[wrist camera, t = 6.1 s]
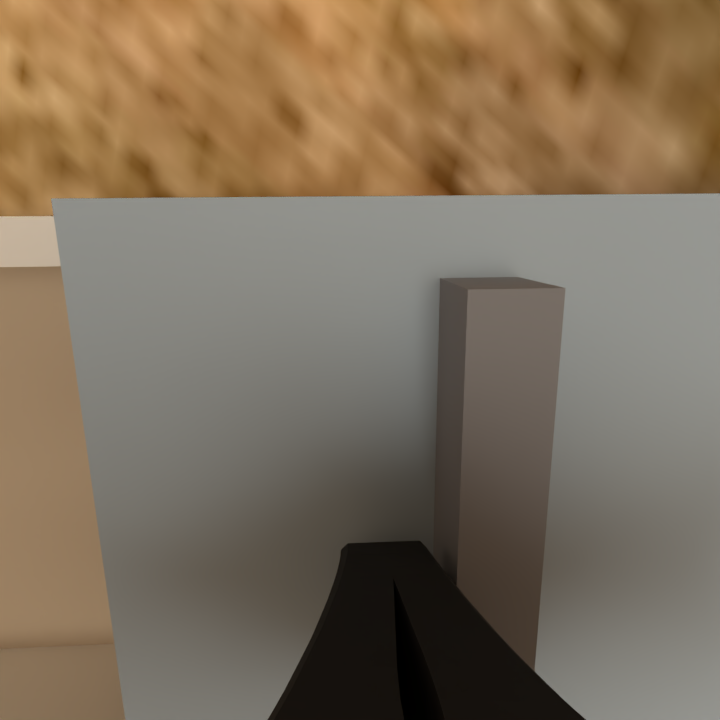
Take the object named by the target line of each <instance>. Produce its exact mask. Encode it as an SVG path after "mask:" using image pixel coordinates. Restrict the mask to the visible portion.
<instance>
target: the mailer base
mask: <svg viewBox="0 0 720 720" xmlns="http://www.w3.org/2000/svg"><path fill="white" fill-rule="evenodd" d="M0 720H125V714H124V707H123V700H122V693H121V686H120V679H119V672H118V665H117V658H116V651H115V644H114V637H113V630H112V623H111V616H110V609H109V602H108V594H107V587H106V580H105V573H104V566H103V559H102V552H101V545H100V538H99V531H98V524H97V517H96V510H95V503H94V496H93V489H92V482H91V475H90V468H89V461H88V454H87V447H86V440H85V433H84V426H83V419H82V412H81V405H80V398H79V391H78V384H77V376H76V369H75V362H74V355H73V348H72V341H71V334H70V327H69V320H68V313H67V306H66V299H65V292H64V285H63V278H62V271H61V264H60V257H59V250H58V243H57V236H56V229H55V222H54V216H0Z"/></svg>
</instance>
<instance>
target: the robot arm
mask: <svg viewBox="0 0 720 720" xmlns="http://www.w3.org/2000/svg"><path fill="white" fill-rule="evenodd" d="M268 720H586V719H585V718H584V717H582V716H581V715H580V714H579V713H578V712H577V711H575V710H574V709H573V708H572V707H571V706H570V705H569V704H568V703H567V702H566V701H565V700H563V699H562V698H561V697H560V696H559V695H558V694H557V693H556V692H555V691H554V690H553V689H552V688H551V687H550V686H549V685H548V684H547V683H546V682H545V681H544V680H543V679H542V678H541V677H540V676H539V675H538V674H537V673H536V672H535V671H534V670H533V669H532V668H531V667H530V666H529V665H528V664H527V663H526V662H525V661H524V660H523V659H522V658H521V657H520V656H519V655H518V654H517V653H516V652H515V651H514V650H513V649H512V648H511V647H510V646H509V645H508V644H507V643H506V642H505V641H504V640H503V639H502V637H501V636H500V635H499V634H498V633H497V632H496V631H495V630H494V629H493V627H492V626H491V625H490V624H489V623H488V622H487V621H486V620H485V619H484V617H483V616H482V615H481V614H480V613H479V612H478V611H477V610H476V608H475V607H474V606H473V605H472V604H471V603H470V602H469V600H468V599H467V598H466V597H465V596H464V594H463V593H462V592H461V591H460V590H459V588H458V587H457V586H456V585H455V583H454V582H453V581H452V580H451V579H450V577H449V576H448V575H447V574H446V572H445V571H444V570H443V568H442V567H441V566H440V565H439V563H438V562H437V561H436V559H435V558H434V557H433V555H432V554H431V553H430V551H429V550H428V549H427V547H426V546H425V545H424V544H423V543H422V542H421V541H394V542H367V543H348V544H347V545H345V546H344V547H343V548H342V549H341V554H340V561H339V565H338V570H337V573H336V576H335V580H334V583H333V586H332V588H331V591H330V594H329V597H328V600H327V602H326V604H325V607H324V609H323V611H322V614H321V616H320V618H319V621H318V623H317V626H316V628H315V630H314V633H313V635H312V637H311V639H310V641H309V643H308V645H307V647H306V649H305V651H304V653H303V655H302V657H301V659H300V661H299V663H298V665H297V667H296V669H295V671H294V673H293V675H292V677H291V679H290V681H289V682H288V684H287V686H286V688H285V690H284V692H283V694H282V696H281V697H280V699H279V701H278V703H277V704H276V706H275V708H274V710H273V711H272V713H271V715H270V716H269V718H268Z"/></svg>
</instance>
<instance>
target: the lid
mask: <svg viewBox="0 0 720 720" xmlns="http://www.w3.org/2000/svg"><path fill="white" fill-rule="evenodd" d="M51 201H52V208H53V215H54V222H55V229H56V236H57V243H58V250H59V257H60V264H61V271H62V278H63V285H64V292H65V299H66V306H67V313H68V320H69V327H70V334H71V341H72V348H73V355H74V362H75V369H76V376H77V384H78V391H79V398H80V405H81V412H82V419H83V426H84V433H85V440H86V447H87V454H88V461H89V468H90V475H91V482H92V489H93V496H94V503H95V510H96V517H97V524H98V531H99V538H100V545H101V552H102V559H103V566H104V573H105V580H106V587H107V594H108V602H109V609H110V616H111V623H112V630H113V637H114V644H115V651H116V658H117V665H118V672H119V679H120V686H121V693H122V700H123V707H124V714H125V720H268V718H269V716H270V715H271V713H272V711H273V710H274V708H275V706H276V704H277V703H278V701H279V699H280V697H281V696H282V694H283V692H284V690H285V688H286V686H287V684H288V682H289V681H290V679H291V677H292V675H293V673H294V671H295V669H296V667H297V665H298V663H299V661H300V659H301V657H302V655H303V653H304V651H305V649H306V647H307V645H308V643H309V641H310V639H311V637H312V635H313V633H314V630H315V628H316V626H317V623H318V621H319V618H320V616H321V614H322V611H323V609H324V607H325V604H326V602H327V600H328V597H329V594H330V591H331V588H332V586H333V583H334V580H335V576H336V573H337V570H338V565H339V561H340V554H341V549H342V548H343V547H344V546H345V545H347V544H348V543H367V542H394V541H421V542H422V543H423V544H424V545H425V546H426V547H427V549H428V550H429V551H430V553H431V554H432V555H433V557H434V558H435V559H436V561H437V562H438V563H439V565H440V566H441V567H442V568H443V570H444V571H445V572H446V574H447V575H448V576H449V577H450V579H451V580H452V581H453V582H454V583H455V585H456V586H457V587H458V588H459V590H460V591H461V592H462V593H463V594H464V596H465V597H466V598H467V599H468V600H469V602H470V603H471V604H472V605H473V606H474V607H475V608H476V610H477V611H478V612H479V613H480V614H481V615H482V616H483V617H484V619H485V620H486V621H487V622H488V623H489V624H490V625H491V626H492V627H493V629H494V630H495V631H496V632H497V633H498V634H499V635H500V636H501V637H502V639H503V640H504V641H505V642H506V643H507V644H508V645H509V646H510V647H511V648H512V649H513V650H514V651H515V652H516V653H517V654H518V655H519V656H520V657H521V658H522V659H523V660H524V661H525V662H526V663H527V664H528V665H529V666H530V667H531V668H532V669H533V670H534V671H535V672H536V673H537V674H538V675H539V676H540V677H541V678H542V679H543V680H544V681H545V682H546V683H547V684H548V685H549V686H550V687H551V688H552V689H553V690H554V691H555V692H556V693H557V694H558V695H559V696H560V697H561V698H562V699H563V700H565V701H566V702H567V703H568V704H569V705H570V706H571V707H572V708H573V709H574V710H575V711H577V712H578V713H579V714H580V715H581V716H582V717H584V718H585V719H586V720H720V194H597V195H465V196H333V197H201V198H69V199H51Z"/></svg>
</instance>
